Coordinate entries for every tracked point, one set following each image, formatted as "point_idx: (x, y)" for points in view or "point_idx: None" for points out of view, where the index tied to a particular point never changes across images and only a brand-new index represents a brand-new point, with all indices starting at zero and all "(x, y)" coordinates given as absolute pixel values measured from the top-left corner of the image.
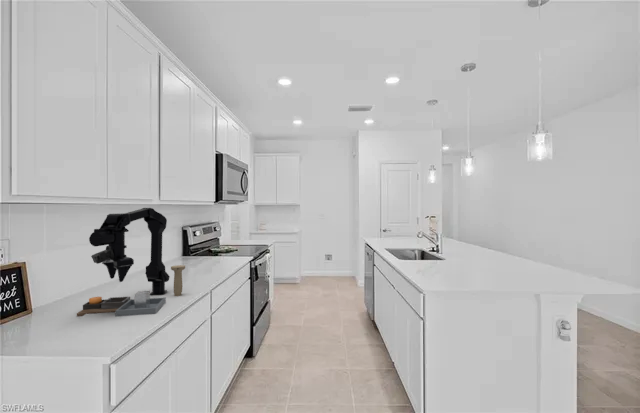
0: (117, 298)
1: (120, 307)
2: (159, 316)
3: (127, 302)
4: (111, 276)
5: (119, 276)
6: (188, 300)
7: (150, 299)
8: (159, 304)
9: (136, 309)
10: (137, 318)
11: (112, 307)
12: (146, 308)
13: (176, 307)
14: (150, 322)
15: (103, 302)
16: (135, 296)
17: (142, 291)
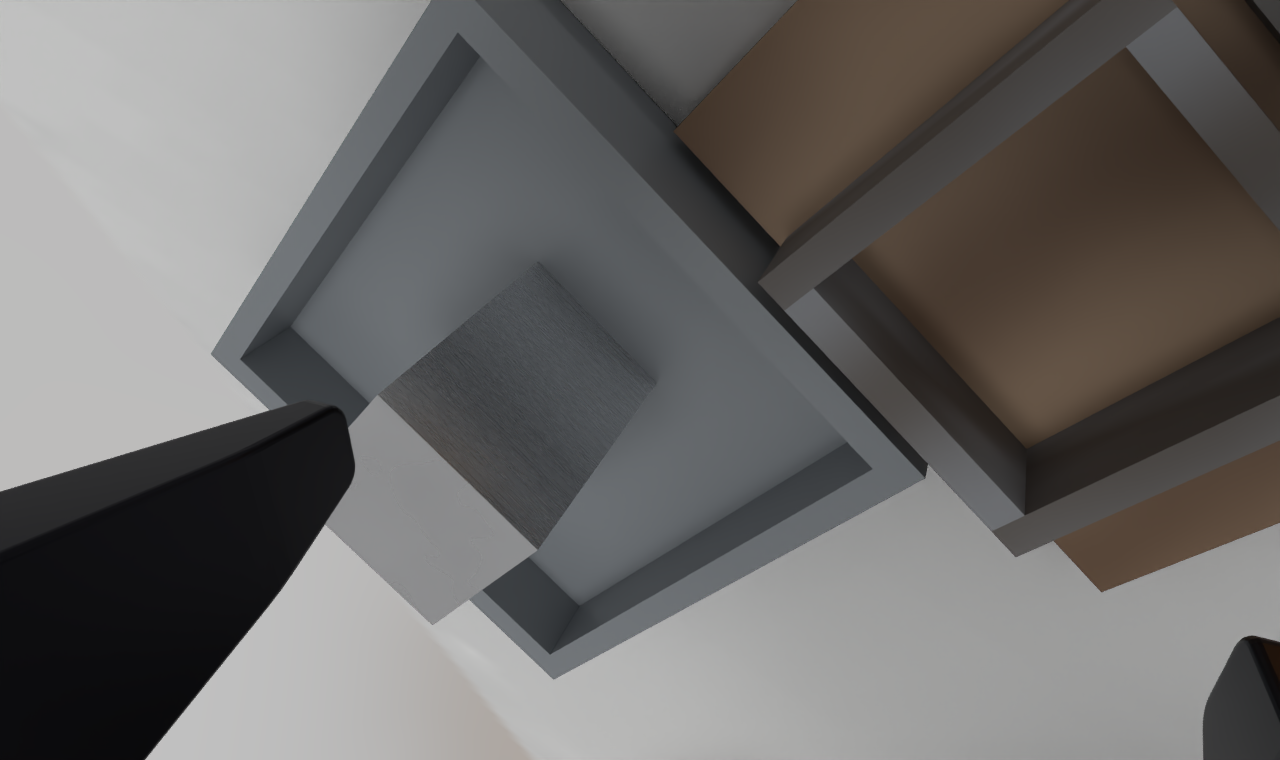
0: (1224, 412)
1: (572, 124)
2: (233, 313)
3: (775, 352)
4: (1254, 732)
5: (67, 476)
6: (532, 753)
7: (660, 588)
8: None
9: (305, 207)
10: (311, 144)
11: (928, 125)
12: (262, 296)
13: None
14: (105, 149)
15: (1167, 40)
16: (395, 380)
17: (471, 561)
